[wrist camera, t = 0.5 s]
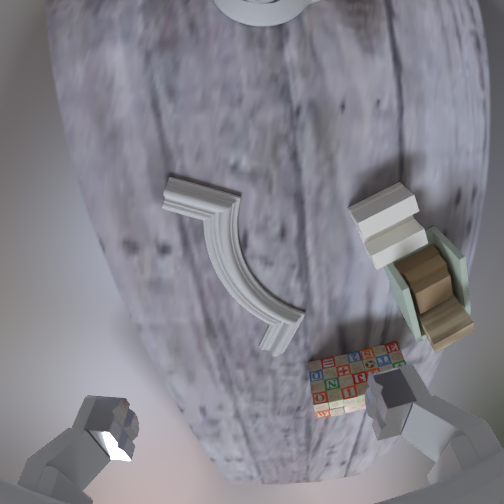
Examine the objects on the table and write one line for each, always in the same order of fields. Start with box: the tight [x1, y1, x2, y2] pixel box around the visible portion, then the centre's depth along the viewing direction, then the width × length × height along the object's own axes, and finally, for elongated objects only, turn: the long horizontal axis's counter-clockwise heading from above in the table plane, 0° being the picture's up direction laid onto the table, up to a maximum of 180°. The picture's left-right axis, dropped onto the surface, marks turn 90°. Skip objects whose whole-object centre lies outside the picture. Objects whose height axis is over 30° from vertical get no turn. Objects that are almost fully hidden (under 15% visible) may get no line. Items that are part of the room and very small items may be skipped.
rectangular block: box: [412, 294, 474, 352], centre depth 49 cm, size 2×8×15 cm, turn 120°
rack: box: [384, 226, 471, 343], centre depth 50 cm, size 14×12×11 cm
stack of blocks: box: [308, 342, 407, 419], centre depth 62 cm, size 21×6×12 cm, turn 105°
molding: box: [163, 177, 305, 357], centre depth 55 cm, size 42×12×3 cm, turn 27°
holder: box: [348, 182, 428, 269], centre depth 48 cm, size 10×10×6 cm
